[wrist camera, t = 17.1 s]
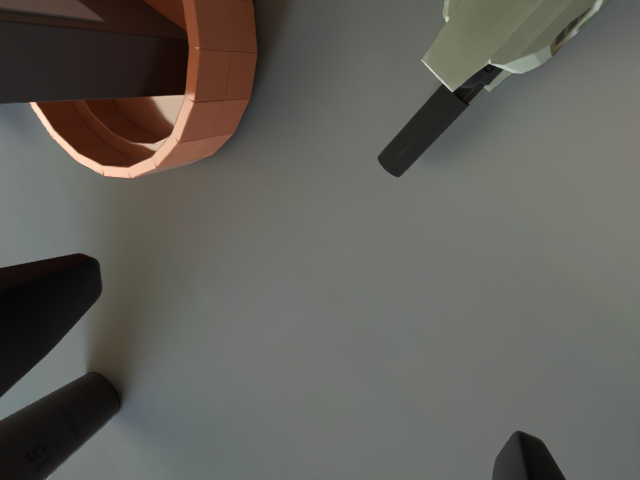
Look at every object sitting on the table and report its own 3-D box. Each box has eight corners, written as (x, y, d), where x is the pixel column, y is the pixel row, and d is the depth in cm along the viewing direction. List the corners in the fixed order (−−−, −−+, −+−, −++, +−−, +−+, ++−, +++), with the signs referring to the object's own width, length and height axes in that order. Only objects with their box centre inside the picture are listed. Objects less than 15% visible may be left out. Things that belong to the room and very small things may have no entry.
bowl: (299, 122, 20) (243, 133, 16) (138, 184, 27) (73, 202, 23) (201, -183, 17) (108, -253, 14) (50, -27, 24) (-39, -46, 21)
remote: (184, 95, 22) (-159, 112, 11) (115, 42, 23) (-260, 12, 12) (201, 38, 20) (-183, -5, 10) (125, -16, 21) (-297, -108, 11)
